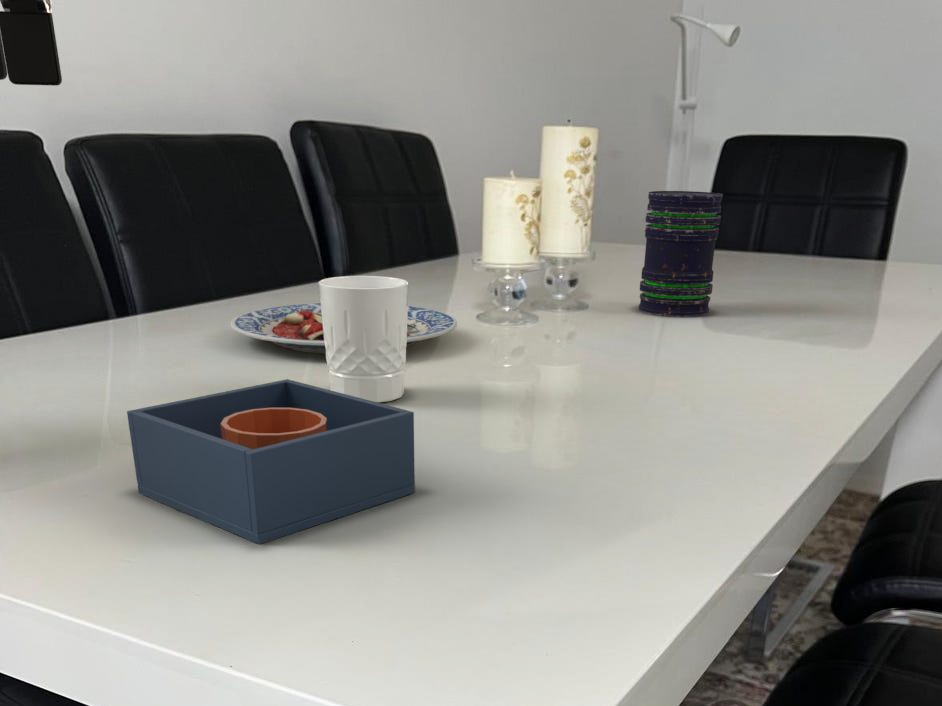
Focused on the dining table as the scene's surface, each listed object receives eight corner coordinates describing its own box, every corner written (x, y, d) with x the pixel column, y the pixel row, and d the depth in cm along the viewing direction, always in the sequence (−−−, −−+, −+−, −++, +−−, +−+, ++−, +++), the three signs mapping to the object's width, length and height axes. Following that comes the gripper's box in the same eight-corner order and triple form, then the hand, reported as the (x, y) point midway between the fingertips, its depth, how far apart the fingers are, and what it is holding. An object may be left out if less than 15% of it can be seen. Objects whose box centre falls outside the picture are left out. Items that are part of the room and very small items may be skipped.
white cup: (359, 381, 97) (355, 273, 93) (426, 392, 94) (425, 280, 89) (307, 397, 91) (299, 282, 87) (376, 410, 88) (373, 291, 83)
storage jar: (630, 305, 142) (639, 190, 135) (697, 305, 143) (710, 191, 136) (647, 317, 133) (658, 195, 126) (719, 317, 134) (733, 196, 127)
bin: (138, 493, 67) (126, 410, 65) (292, 452, 76) (287, 378, 73) (259, 544, 59) (250, 453, 57) (415, 492, 68) (414, 411, 66)
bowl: (207, 484, 67) (200, 420, 65) (287, 463, 72) (282, 402, 70) (270, 509, 63) (264, 441, 61) (350, 484, 68) (347, 420, 66)
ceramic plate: (229, 366, 102) (226, 336, 100) (234, 322, 124) (232, 297, 123) (476, 360, 107) (476, 332, 105) (438, 318, 129) (438, 294, 128)
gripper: (-61, -242, 60) (-2, 85, 67) (-225, -368, 44) (-124, 74, 52) (67, -236, 60) (111, 88, 68) (-51, -359, 45) (23, 78, 53)
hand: (9, 81), depth 60 cm, fingers open, 9 cm apart
